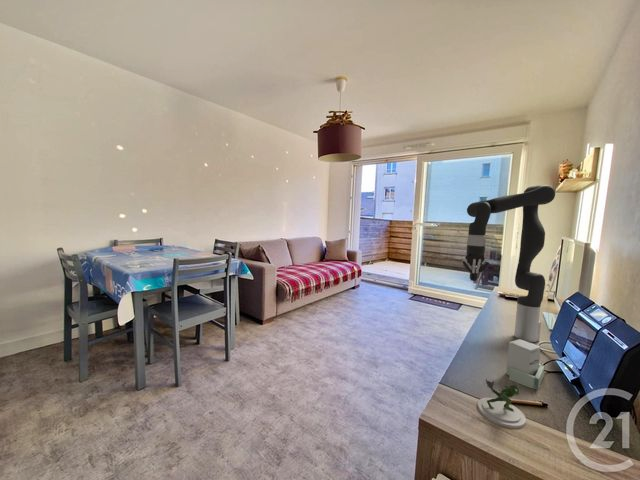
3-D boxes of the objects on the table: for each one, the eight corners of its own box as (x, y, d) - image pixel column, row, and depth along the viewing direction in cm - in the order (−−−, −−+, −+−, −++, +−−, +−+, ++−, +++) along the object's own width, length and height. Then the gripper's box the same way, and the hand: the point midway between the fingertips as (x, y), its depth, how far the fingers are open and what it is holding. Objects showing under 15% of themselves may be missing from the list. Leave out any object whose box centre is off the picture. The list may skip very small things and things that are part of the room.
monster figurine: (523, 435, 74) (527, 399, 73) (473, 413, 82) (476, 380, 81) (527, 412, 83) (530, 380, 82) (481, 395, 91) (484, 365, 90)
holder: (509, 379, 100) (510, 369, 100) (517, 366, 109) (518, 357, 109) (537, 390, 94) (538, 379, 94) (543, 375, 103) (544, 365, 103)
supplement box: (526, 384, 97) (530, 350, 96) (505, 373, 104) (507, 341, 103) (538, 379, 100) (541, 346, 99) (516, 369, 107) (519, 338, 106)
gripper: (465, 244, 126) (463, 281, 128) (495, 245, 126) (491, 283, 127) (458, 243, 134) (455, 278, 135) (485, 244, 134) (482, 279, 135)
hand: (473, 280), depth 131 cm, fingers closed
